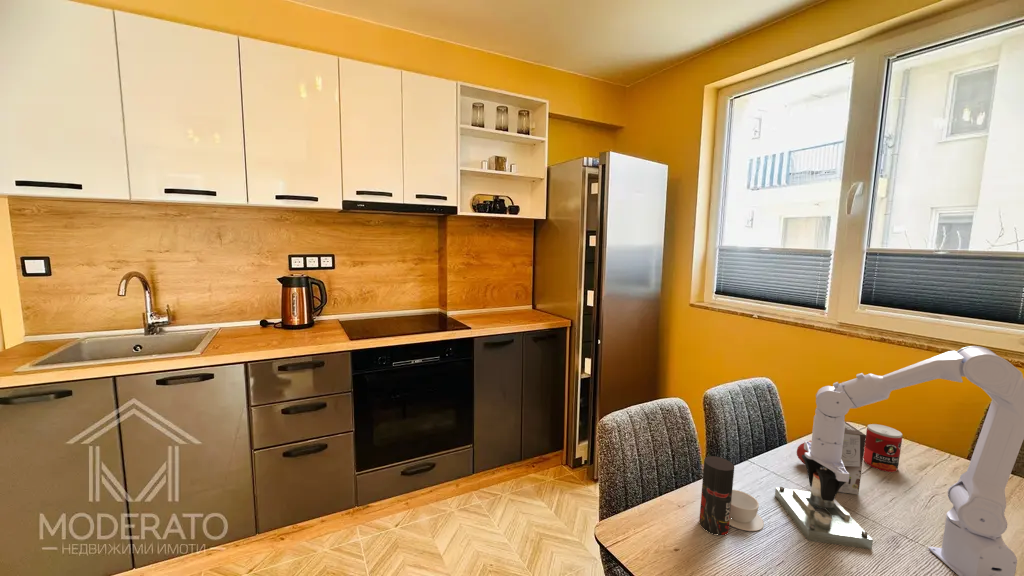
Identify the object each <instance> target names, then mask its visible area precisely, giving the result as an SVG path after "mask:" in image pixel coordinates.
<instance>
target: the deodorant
mask: <svg viewBox="0 0 1024 576" xmlns="http://www.w3.org/2000/svg"><path fill="white" fill-rule="evenodd" d="M702 471H703V472H702V482H701V483H702V484H701V485H702V486H701V496H700V508H699V509H700V510H699V522H700V523H699V526H700V525H701V526H702V527H703V528H704V529H705V530H707V531H708V532H707V531H706V532H707V533H709V532H710V533H709V534H711V533H713V534H712V535H714V534H718V535H724V536H726V535H725V534H727V533H728V534H729V531H730V525H729V522H730V510H731V499H732V490H733V485H734V477H735V476H734V475H735V465H734V463H732V462H731V461H729V460H728V459H726V458H724V457H720V456H712V455H711V456H706V457H704V460H703V469H702ZM701 526H700V527H701ZM702 527H701V528H702ZM703 528H702V529H703ZM704 529H703V530H704ZM705 530H704V531H705ZM728 534H727V535H728ZM718 535H717V536H718Z"/></svg>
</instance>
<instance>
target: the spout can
mask: <svg viewBox="0 0 1024 576" xmlns="http://www.w3.org/2000/svg"><path fill="white" fill-rule="evenodd" d="M820 469H824V470H826V468H825V467H822V466H820ZM810 492H811V494H810V500H811V501H812V502H814V503H815V504H817V505H819V506H822V507H825V508H832V507H833V505H834V500H833V501H826V500H823V499H822V498H821V486H820V479H819V475H818V473H817V472H814V473H813V481H812V487H811V489H810Z"/></svg>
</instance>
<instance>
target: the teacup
mask: <svg viewBox="0 0 1024 576" xmlns="http://www.w3.org/2000/svg"><path fill="white" fill-rule="evenodd" d="M759 507H760V503H759V501H758V500H757V499H756V498H755V497H754V496H752V495H750V494H748V492H747V493H746V492H744V491H741V490H737V489H732V499H731V510H730V522H729V526H731V527H733V528H736V529H738V530H742V531H748V532H756V531H760V530H762V529H763V528H764V526H765V522H764V519H763V518H762V517H761V516H760V514H758V512H759ZM731 518H732V519H731Z"/></svg>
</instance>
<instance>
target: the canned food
mask: <svg viewBox="0 0 1024 576" xmlns="http://www.w3.org/2000/svg"><path fill="white" fill-rule="evenodd" d="M865 435H866V439H865V447H864V455H863V461H864V463H865V464H867V465H868V466H869V467H871V468H874V469H876V470H878V469H879V470H878V471H883V472H889V473H892V472H893V473H894V472H897V471H898V468H899V466H900V465H899V464H900V463H899V462H900V458H901V457H900V456H901V449H902V442H903V433H902V432H901V431H899V430H897V429H896V428H893V427H890V426H887V425H883V424H877V423H872V424H871V423H870V424H867V427H866V433H865Z"/></svg>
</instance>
